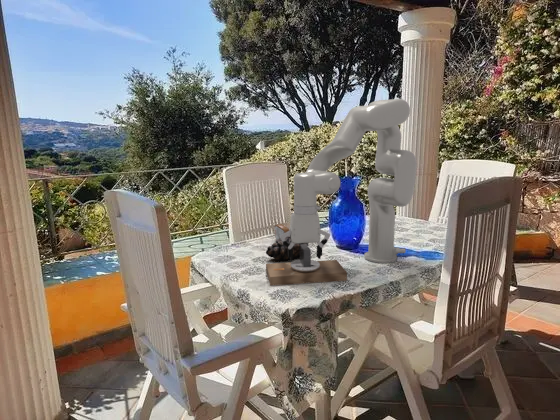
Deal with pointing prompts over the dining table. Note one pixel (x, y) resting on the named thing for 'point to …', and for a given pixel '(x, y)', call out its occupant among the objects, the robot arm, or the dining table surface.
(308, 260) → the dial knob
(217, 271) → the dining table surface
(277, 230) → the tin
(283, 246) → the pine cone
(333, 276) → the brown wooden board
